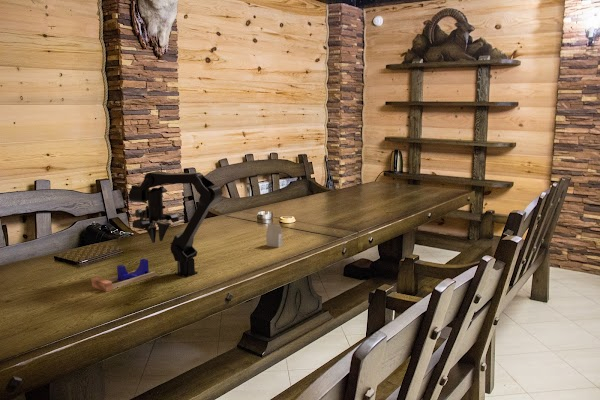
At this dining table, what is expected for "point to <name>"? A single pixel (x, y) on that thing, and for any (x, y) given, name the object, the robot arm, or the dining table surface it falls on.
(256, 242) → the dining table surface
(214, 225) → the dining table surface
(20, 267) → the dining table surface
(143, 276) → the guide track
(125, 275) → the blue cradle block
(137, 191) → the robot arm
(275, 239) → the grey upright block
